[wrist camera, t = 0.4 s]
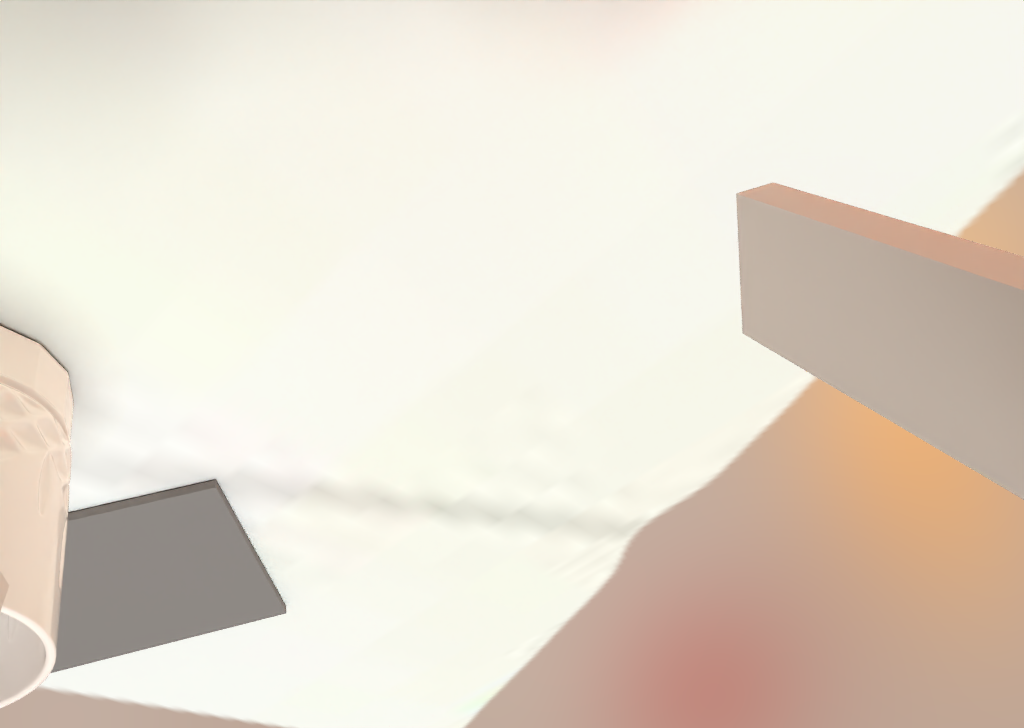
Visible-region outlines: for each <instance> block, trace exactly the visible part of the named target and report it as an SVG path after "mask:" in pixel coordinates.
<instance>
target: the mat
mask: <svg viewBox="0 0 1024 728" xmlns="http://www.w3.org/2000/svg"><path fill="white" fill-rule="evenodd" d="M285 613H286V606H285V604H284V602H283V600H282V599H281V597H280V595H279V593H278V591H277V589H276V588H275V586H274V584H273V582H272V580H271V579H270V577H269V575H268V573H267V571H266V570H265V568H264V566H263V564H262V562H261V561H260V559H259V557H258V555H257V553H256V552H255V550H254V548H253V546H252V544H251V543H250V541H249V539H248V537H247V535H246V534H245V532H244V530H243V528H242V526H241V525H240V523H239V521H238V519H237V517H236V515H235V514H234V512H233V510H232V508H231V506H230V505H229V503H228V501H227V499H226V497H225V496H224V494H223V492H222V490H221V488H220V487H219V485H218V483H217V481H216V480H213V481H208V482H204V483H199V484H195V485H190V486H186V487H182V488H177V489H173V490H168V491H164V492H160V493H155V494H151V495H146V496H142V497H137V498H133V499H129V500H124V501H120V502H115V503H111V504H107V505H102V506H98V507H93V508H89V509H84V510H80V511H76V512H71V513H68V527H67V539H66V549H65V560H64V571H63V582H62V593H61V604H60V616H59V628H58V640H57V652H56V661H55V664H54V667H53V669H52V671H51V673H52V672H56V671H60V670H64V669H68V668H72V667H76V666H80V665H84V664H88V663H92V662H96V661H100V660H104V659H108V658H112V657H116V656H119V655H123V654H127V653H131V652H135V651H139V650H143V649H147V648H151V647H155V646H159V645H163V644H167V643H171V642H175V641H179V640H183V639H186V638H190V637H194V636H198V635H202V634H206V633H210V632H214V631H218V630H222V629H226V628H230V627H234V626H238V625H242V624H246V623H250V622H254V621H257V620H261V619H265V618H269V617H273V616H277V615H281V614H285Z"/></svg>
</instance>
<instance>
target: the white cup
mask: <svg viewBox="0 0 1024 728" xmlns="http://www.w3.org/2000/svg"><path fill="white" fill-rule="evenodd" d="M73 407H74V402H73V397H72V391H71V386H70V380H69V375H68V372H67V371H66V370H65V369H64V368H63V367H62V366H61V365H60V364H59V363H58V362H57V361H56V360H55V359H54V358H53V357H52V356H51V355H50V354H49V353H48V352H47V351H46V350H45V349H44V347H43V346H42V345H40V344H39V343H37V342H35V341H32V340H30V339H28V338H26V337H24V336H22V335H20V334H17V333H15V332H13V331H11V330H9V329H6V328H4V327H2V326H0V571H1V573H2V575H3V576H4V578H5V579H6V581H7V583H8V584H9V588H8V591H7V594H6V597H5V600H4V603H3V606H2V609H1V612H0V708H2V707H5V706H7V705H8V704H11V703H13V702H15V701H17V700H19V699H21V698H22V697H24V696H26V695H27V694H29V693H30V692H32V691H33V690H34V689H36V688H37V687H38V686H39V685H40V684H41V683H42V682H43V681H44V680H45V679H46V678H47V677H48V675H49V674H50V673H51V671H52V669H53V667H54V664H55V661H56V652H57V640H58V628H59V616H60V604H61V593H62V582H63V571H64V560H65V549H66V539H67V527H68V507H69V483H70V475H71V446H70V437H71V427H72V418H73Z"/></svg>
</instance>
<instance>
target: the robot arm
mask: <svg viewBox="0 0 1024 728" xmlns="http://www.w3.org/2000/svg"><path fill="white" fill-rule="evenodd" d="M736 198H737V220H738V242H739V264H740V286H741V309H742V331H743V334H745V335H746V336H748V337H750V338H751V339H753V340H755V341H757V342H758V343H760V344H762V345H763V346H765V347H767V348H768V349H770V350H772V351H773V352H775V353H777V354H778V355H780V356H782V357H784V358H785V359H787V360H789V361H790V362H792V363H794V364H795V365H797V366H799V367H800V368H802V369H804V370H805V371H807V372H809V373H811V374H812V375H814V376H816V377H817V378H819V379H821V380H822V381H824V382H826V383H828V384H829V385H831V386H833V387H834V388H836V389H838V390H839V391H841V392H843V393H844V394H846V395H848V396H849V397H851V398H853V399H855V400H857V401H858V402H860V403H861V404H863V405H865V406H866V407H868V408H870V409H871V410H873V411H875V412H877V413H878V414H880V415H882V416H883V417H885V418H887V419H889V420H890V421H892V422H893V423H895V424H897V425H898V426H900V427H902V428H904V429H905V430H907V431H909V432H910V433H912V434H914V435H915V436H917V437H919V438H921V439H922V440H924V441H926V442H927V443H929V444H930V445H932V446H934V447H935V448H937V449H939V450H941V451H942V452H944V453H946V454H947V455H949V456H951V457H952V458H954V459H956V460H958V461H959V462H961V463H963V464H964V465H966V466H968V467H969V468H971V469H973V470H974V471H976V472H978V473H980V474H981V475H983V476H984V477H986V478H988V479H990V480H991V481H993V482H995V483H997V484H998V485H1000V486H1001V487H1003V488H1005V489H1006V490H1008V491H1010V492H1012V493H1013V494H1015V495H1017V496H1018V497H1020V498H1022V499H1023V500H1024V257H1023V256H1020V255H1016V254H1013V253H1010V252H1006V251H1003V250H1000V249H996V248H993V247H989V246H986V245H983V244H979V243H976V242H973V241H969V240H966V239H962V238H959V237H956V236H952V235H949V234H946V233H942V232H939V231H935V230H932V229H929V228H925V227H922V226H919V225H915V224H912V223H908V222H905V221H902V220H898V219H895V218H891V217H888V216H885V215H881V214H878V213H875V212H871V211H868V210H864V209H861V208H858V207H854V206H851V205H848V204H844V203H841V202H837V201H834V200H831V199H827V198H824V197H820V196H817V195H814V194H810V193H807V192H804V191H800V190H797V189H793V188H790V187H787V186H783V185H780V184H777V183H770V184H767V185H763V186H760V187H757V188H753V189H750V190H747V191H743V192H740V193H736ZM8 588H9V584H8V583H7V581H6V579H5V578H4V576H3V575H2V573H1V571H0V612H1V609H2V606H3V603H4V600H5V597H6V594H7V591H8Z"/></svg>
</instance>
